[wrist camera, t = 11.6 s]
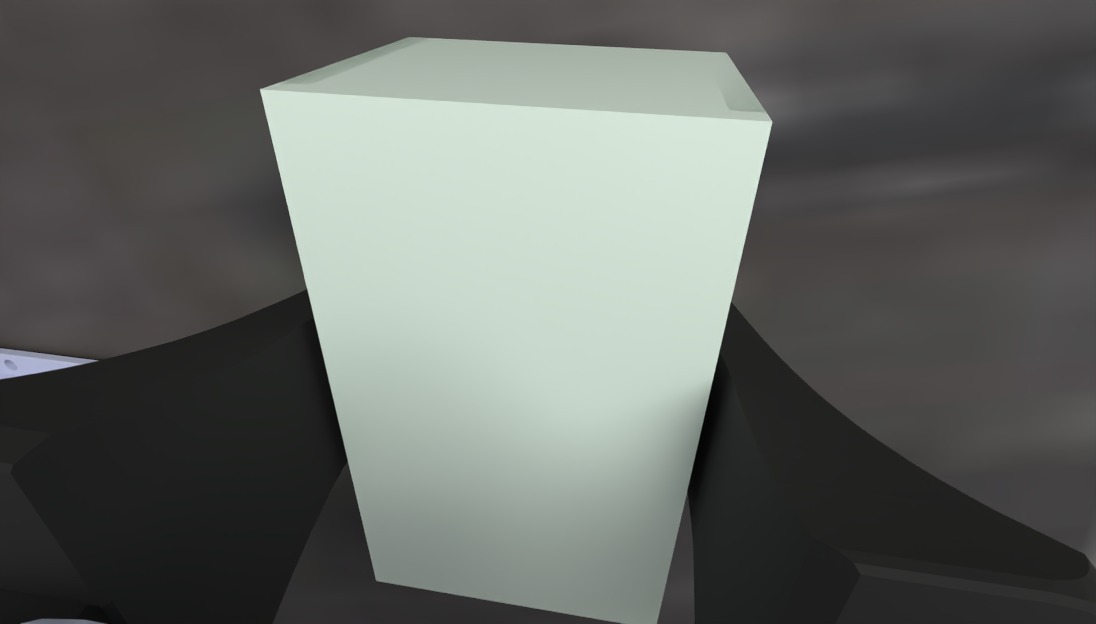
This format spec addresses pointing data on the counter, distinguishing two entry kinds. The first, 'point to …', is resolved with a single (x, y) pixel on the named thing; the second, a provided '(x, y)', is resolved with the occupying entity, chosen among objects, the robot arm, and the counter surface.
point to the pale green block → (521, 301)
